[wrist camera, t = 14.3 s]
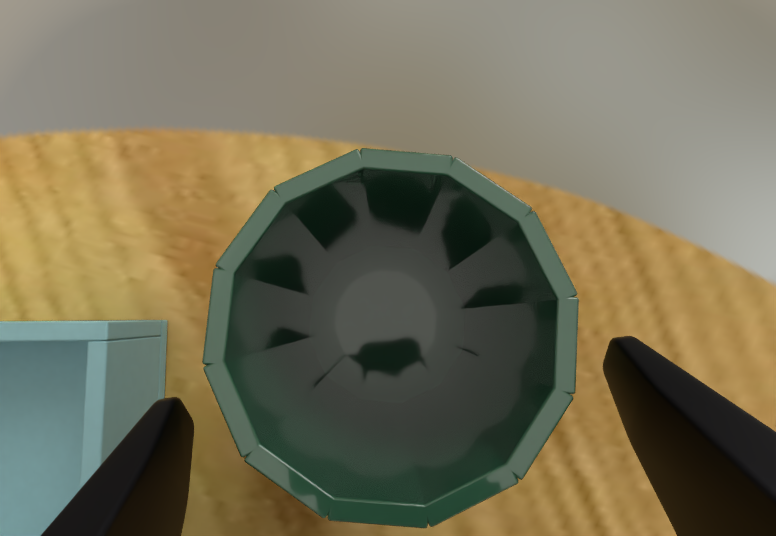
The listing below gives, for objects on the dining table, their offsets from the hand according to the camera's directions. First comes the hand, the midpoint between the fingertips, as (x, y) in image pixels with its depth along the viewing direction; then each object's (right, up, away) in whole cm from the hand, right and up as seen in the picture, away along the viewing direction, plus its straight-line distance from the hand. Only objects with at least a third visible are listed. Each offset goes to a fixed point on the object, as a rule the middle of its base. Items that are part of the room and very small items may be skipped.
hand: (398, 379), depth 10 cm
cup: (0, 0, +8) cm, 8 cm away
